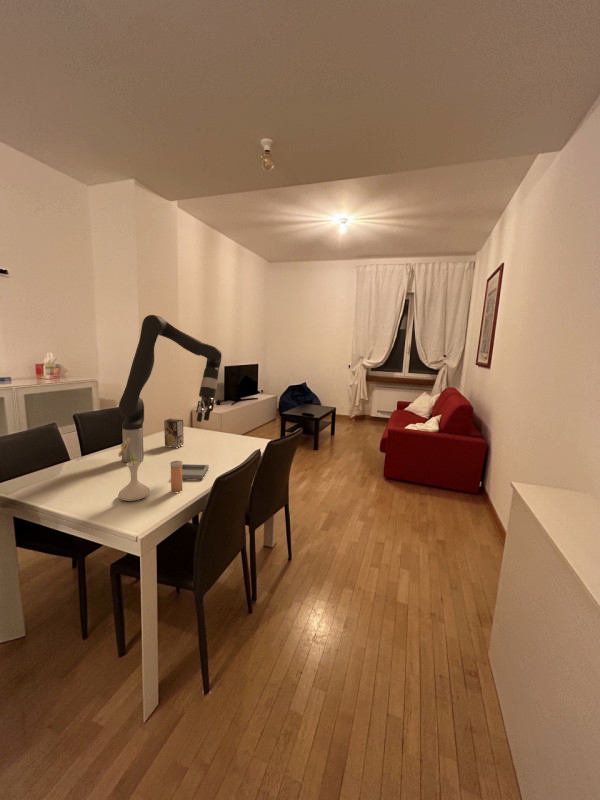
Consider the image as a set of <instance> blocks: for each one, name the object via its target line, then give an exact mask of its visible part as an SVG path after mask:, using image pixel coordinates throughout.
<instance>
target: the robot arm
mask: <svg viewBox="0 0 600 800" xmlns="http://www.w3.org/2000/svg"><path fill="white" fill-rule="evenodd" d="M158 336H161V337H163V338H167V339H168V340H170V341H172V342H174V343H175V344H177V345H178V346H180V347H182V348H183V350H185V351H188V352H190V353H191V354H193V355H195V356H199V357H200V356H201V357H204V358H206V363H205V368H204V371H203V374H202V375H203V376H202V379H201V383H200V387H199V393H198V397H199V398H201V400H198V402H197V404H196V405H197V406H196V411H195V413H197V416H196V422H199V423H201V422H202V420H204V421H206V422H207V421H209V420H210V416H211V415H210V414H211V413H212V412H213V411H214V405H215V398H216V394H217V393H216V392H217V388H218V387H217V386H218V379H219V370H220V368H221V363H222V358H223V356H222V352H221V350H220V349H219V348H217V347H216V346H214V345H211V344H208V343H204V342H203V341H201V340H199V339H198V338H195V337H193V336H191V335H189V334H187V333H185V332H183V331H181V330H180V329H178V328H177V327H175V326H173V325H172V324H171V323H169V322H168V321H167V320H165V319H164V318H163V317H161V316H159V315H155V314H149V315H147V316H146V317H144V318H143V320H142V324H141V329H140V334H139V341H138V344H137V347H136V350H135V354H134V357H133V359H132V362H131V363H132V364H131V367H130V370H129V373H128V374H129V375H128V378H127V380H126V385H125V388H124V390H123V393H122V396H121V398H120V400H119V403H118V411H119V413H120V414H121V415H122V416H125V418H124V421H122V423H121V427H122V429H121V430H122V443H121V444H120V447H122V446H124V443H125V441H127V438H128V439H129V437H130V441H129V444H128V446H127V447H128V449H129V450H130V452H131V453H134V455H135V456H136V457H137V459H136V460H135V461H137V462H140V461H141V462H143V461H144V460H143V459H145V458H144V456H145V455H144V453H145V452H144V432H143V431H144V428H143V427H144V426H143V425H144V421H145V404H144V400H143V399H142V398H141V397H140V396H141V394H142V393H141V392H142V390H143V388H144V387H145V385H146V384H147V382H148V380H149V379H150V377H151V375H152V372H153V368H154V365H155V348H156V347H155V346H156V342H157V340H158ZM203 414H204V415H203ZM128 449H126V450H125V451H124V453H123V454H122V455H121V463H125V462H126V463H125V464H127V463H129V462H130V461H131V459H130V458H129V457H130V455H131V454H130V452H129V450H128ZM121 450H122V449H121V448H120V451H121ZM142 460H143V461H142ZM132 462H133V461H132Z"/></svg>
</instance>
